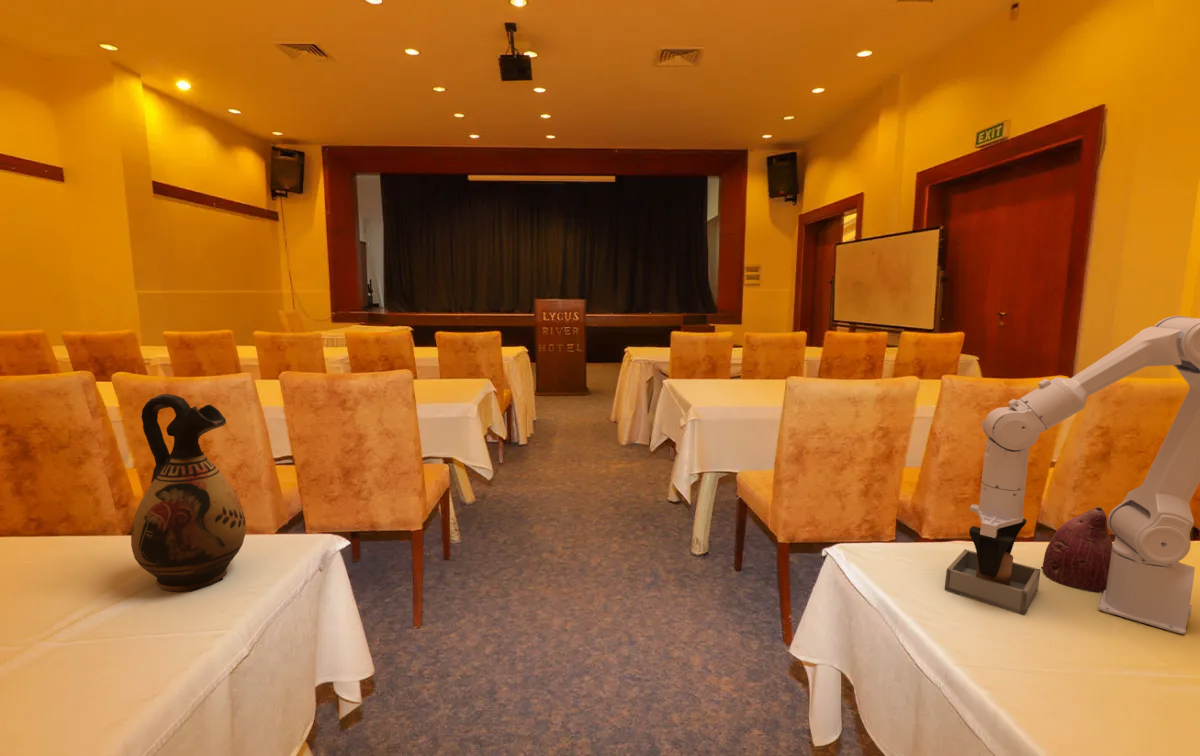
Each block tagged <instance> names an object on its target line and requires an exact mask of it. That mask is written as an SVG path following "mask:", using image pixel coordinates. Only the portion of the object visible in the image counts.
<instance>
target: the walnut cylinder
mask: <svg viewBox="0 0 1200 756" xmlns="http://www.w3.org/2000/svg"><path fill="white" fill-rule="evenodd" d="M1013 562H1014V556H1013V555H1012V554H1011V553H1010V554H1009V553H1008V552H1005V553H1004V556H1003V558H1002V562H1001V565H1000V568H999V571H998V573H997V575H996V577H995V578H994V577H990V576H987V575H984V574H981V573H980V571H979V566H978V563H977V572H976V577H980V578H983V579H987V580H990V581H993V582H997V583H1000V584H1004V585H1007V586H1010V581H1011V573H1012V564H1013Z"/></svg>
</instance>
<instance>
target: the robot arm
mask: <svg viewBox="0 0 1200 756" xmlns="http://www.w3.org/2000/svg"><path fill="white" fill-rule="evenodd" d="M1157 366H1158V367H1159V366H1164V367H1165V366H1173V367H1174V368H1176V370H1177V371H1178V372H1179V374H1180V375H1181V377H1182V378H1183V379H1184V380H1185V381H1186V383H1187V385H1189V389H1188V391H1187V393H1186V395H1185V397H1184V399H1183V402H1182V404H1181V405H1180V407H1179V409H1178V412H1177V413H1176V415H1175V417H1174V419H1173V422H1172V424H1171V425H1170V428H1169V429H1168V432H1167V433H1166V436H1165V437H1164V440H1163V441H1162V444H1161V445H1160V448H1159V449H1158V452H1157V454H1156V456H1155V458H1154V460H1153V461H1152V463H1151V466H1150V468H1149V470H1148V472H1147V474H1146V476H1145V479H1144V480H1143V482H1142V484H1141V485H1140V486H1138V487H1136V488H1134V489H1132V490H1130V491H1128V492H1127V494H1126V496H1125V497H1124V499H1123V500H1122V502H1121V503H1119V504H1117V505H1116V506H1115V507H1113V508H1112V510H1111V511H1110V512H1109V514H1108V516H1107V527H1108V528H1109V529H1108V530H1109V531H1110V532H1111V533H1112V534H1113V535H1114V541H1113V542H1112V543H1113V544H1112V551H1111V558H1110V565H1109V572H1108V579H1107V587H1106V590H1104V592H1102V596H1101V598H1100V601H1099V604H1098V610H1099V611H1101V612H1104V613H1109V614H1111V615H1115V616H1119V617H1123V618H1125V619H1128V620H1132V621H1136V622H1138V623H1143V624H1146V625H1149V626H1153V627H1156V628H1159V629H1162V630H1166V631H1170V632H1173V633H1178V634H1181V635H1185V634H1186V629H1187V625H1188V618H1189V619H1190V618H1191V615H1192V611H1193V609H1192V608H1193V605H1192V604H1191V599H1192V598H1191V597H1192V593H1193V587H1194V586H1193V585H1194V581H1195V567H1194V566H1191V565H1188V564H1185V563H1183V562H1180V561H1182V560H1183V559H1185V558H1186V557H1187V555H1188V554H1189V552H1190V550H1191V543H1192V542H1191V530H1192V528H1193V526H1194V525H1195V521H1194V516H1193V513H1192V509H1191V507H1190V502H1191V500H1192V498H1193V496H1194V494H1195V492H1196V490H1197V488H1198V487H1199V485H1200V318H1197V317H1196V318H1195V317H1188V316H1183V315H1173V316H1169V317H1165V318H1163V319H1161V320H1160V321H1158V322H1157V323H1156V324H1154V326H1148V327H1146V328H1143V329H1142V330H1141V331H1139V332H1138V333H1137V334H1135V335H1134V336H1133V337H1131V338H1130V339H1128V340H1127V341H1126V342H1124V343H1123V344H1121V345H1120V346H1118V347H1116V348H1115V349H1113V350H1112V351H1110V352H1108V353H1107V354H1106V355H1104V356H1103V357H1101V358H1100V359H1098V360H1097V361H1095V362H1094V363H1091V364H1090V365H1089V366H1088V367H1086V368H1084V369H1083V370H1081V371H1080V372H1078V373H1077V374H1075V375H1073V376H1072V377H1071V378H1067V377H1065V378H1064V377H1054V378H1052V379H1050V380H1049V379H1047V378H1044V379H1042V380H1041V381H1038V382H1037V384H1038V386H1039V387H1036V388H1034V390H1032V391H1030V392H1028V393H1027V394H1024V396H1022V397H1020V398H1018V399H1015V398H1012V399H1011V400H1009V401H1008V402H1007V403H1008V405H1009V406H1004V407H1003V406H1000V407H997V408H995V409H993V410H991V411H990V412H988V414H987V415H986V418H985V419H984V421H982V422H981V425H982V426H981V427H982V430H983V432H984V434H985V436H987V437H986V443H985V444H986V446H985V451H984V454H983V455H984V456H983V465H982V473H981V484H980V493H979V494H980V495H979V504H975V503H973V504H971V505H970V506H969V511H970V512H973V513H976V514H977V516H978V518H979V520H980V527H978V526H974V525H972V526H971V527H970V528H969V531H968V533H969V536H970V538H971V540H972V543H973V545H974V548H975V552H977V558H978V566H979V571H980V573H981V574H984V575H987V576H990V577H994V578H995V577H996V575H997V573H998V571H999V568H1000V565H1001V562H1002V558H1003V556H1004V553H1005V552H1008V553H1009V554H1011V553H1012V550H1013V547H1014V544H1015V542H1016V540H1017V537H1018V535H1019V533H1020V531H1021V530H1022V529H1023V528H1024V526H1025V525H1026V524H1027V519H1026V518H1024V514H1023V509H1024V501H1025V493H1026V492H1025V491H1026V485H1027V484H1026V483H1027V477H1028V467H1029V452H1030V448H1031V447H1033V446H1034V445H1035V444H1036V442H1038V440H1039V438H1040V434H1041V433H1043V432H1046V431H1047V430H1049V429H1051V428H1052V427H1054V426H1056V425H1058V424H1060V423H1061V422H1063V421H1065V420H1066V419H1068V418H1070V417H1072V416H1073V415H1076V414H1077V413H1080V412H1081V411H1083V410H1084V409H1085V408H1086V405H1087V401H1088V398H1089V396H1091V395H1093V394H1095V393H1097V392H1099V391H1100V390H1103V389H1105V388H1107V387H1108V386H1110V385H1113V384H1115V383H1117V382H1118V381H1120V380H1122V379H1124V378H1126V377H1128V376H1130V375H1132V374H1134V373H1136V372H1138V371H1140V370H1141V369H1144V368H1146V367H1157Z"/></svg>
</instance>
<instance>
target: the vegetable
mask: <svg viewBox="0 0 1200 756" xmlns="http://www.w3.org/2000/svg"><path fill="white" fill-rule="evenodd" d="M1108 530H1109V529H1108V517H1107V515H1106V513H1105V511H1104V509H1103V508H1102V507H1101V506H1097V507H1095V508H1094V507H1093V508H1091V509H1089V510H1087V511H1085V512H1084V513H1081V514H1079V515H1078V516H1075V517H1072V518H1071V519H1068V520H1067V521H1066V522H1064V523H1063V524H1061V526H1060V527H1059V528H1058V529H1056V531H1055V532H1054V533H1053V536H1052V538H1051V539H1050V541H1049V543H1048V545H1047V546H1046V549H1045V552H1044V557H1043V561H1042V566H1041V569H1042V568H1043V569H1042V573H1043V575H1044V576H1045V575H1046V577H1047V578H1048V579H1049V578H1050V580H1051V579H1052V580H1051V581H1053V582H1055V581H1056V582H1058V584H1061V585H1062V584H1063V586H1067V587H1070V588H1074V589H1079V590H1083V591H1086V590H1087V591H1088V592H1091V591H1093V592H1094V593H1099V592H1102V593H1103V592H1104V590H1106V587H1107V579H1108V572H1109V565H1110V558H1111V551H1112V544H1113V543H1114V542H1113V541H1112V539H1111V536H1110V533H1109V531H1108ZM1056 582H1055V583H1056Z"/></svg>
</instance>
